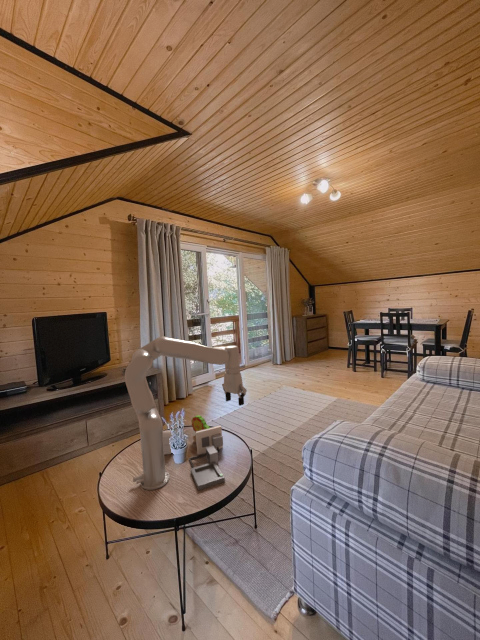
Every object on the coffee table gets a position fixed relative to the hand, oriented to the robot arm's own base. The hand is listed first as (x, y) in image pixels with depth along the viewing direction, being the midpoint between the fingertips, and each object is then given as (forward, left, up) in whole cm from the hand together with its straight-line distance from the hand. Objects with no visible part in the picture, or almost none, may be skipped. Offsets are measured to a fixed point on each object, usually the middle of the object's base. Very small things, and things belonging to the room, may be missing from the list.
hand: (234, 402), depth 139 cm
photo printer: (-34, +22, -28) cm, 49 cm away
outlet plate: (-12, +10, -28) cm, 32 cm away
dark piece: (-16, +3, -28) cm, 32 cm away
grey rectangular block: (-14, +2, -28) cm, 31 cm away
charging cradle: (-20, -9, -28) cm, 35 cm away
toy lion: (-13, +23, -28) cm, 38 cm away
